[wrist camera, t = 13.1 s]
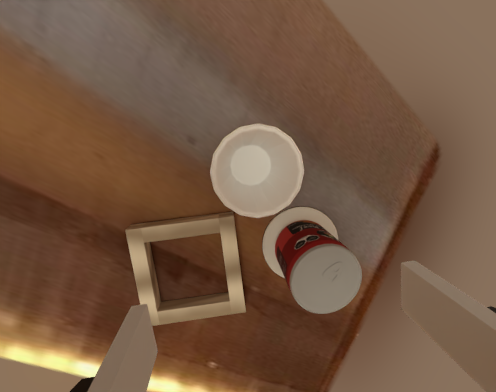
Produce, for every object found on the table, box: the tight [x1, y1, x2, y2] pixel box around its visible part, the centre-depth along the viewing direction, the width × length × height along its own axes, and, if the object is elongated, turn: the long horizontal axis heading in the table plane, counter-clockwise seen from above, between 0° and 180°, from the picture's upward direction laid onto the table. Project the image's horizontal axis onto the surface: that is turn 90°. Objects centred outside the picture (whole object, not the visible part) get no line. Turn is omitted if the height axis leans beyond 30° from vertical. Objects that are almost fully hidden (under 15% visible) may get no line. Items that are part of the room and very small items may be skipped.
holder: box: [125, 212, 246, 326], centre depth 40 cm, size 14×14×2 cm
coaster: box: [262, 206, 338, 278], centre depth 42 cm, size 11×11×1 cm
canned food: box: [275, 220, 362, 314], centre depth 36 cm, size 8×8×11 cm
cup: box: [210, 123, 304, 218], centre depth 35 cm, size 10×10×9 cm
